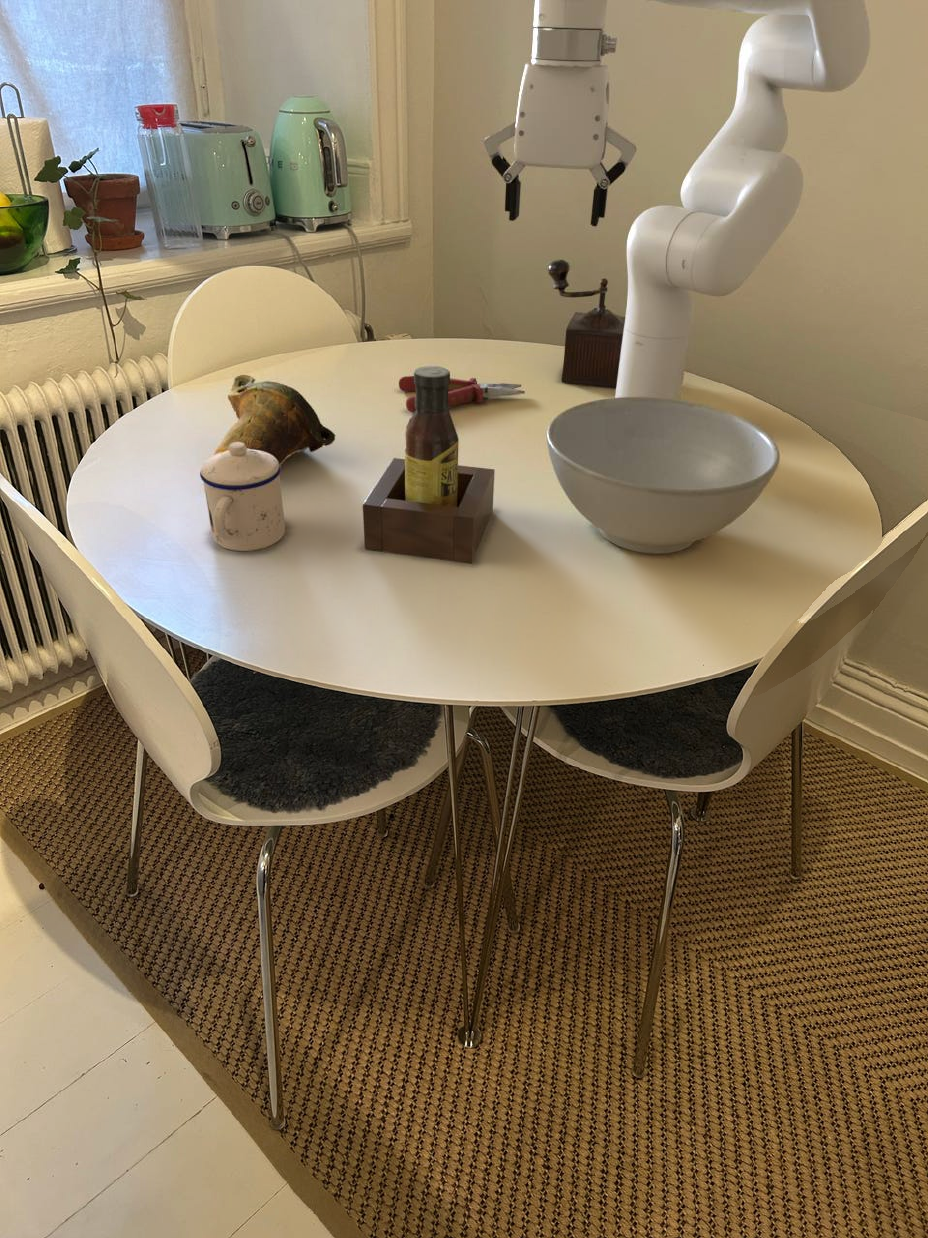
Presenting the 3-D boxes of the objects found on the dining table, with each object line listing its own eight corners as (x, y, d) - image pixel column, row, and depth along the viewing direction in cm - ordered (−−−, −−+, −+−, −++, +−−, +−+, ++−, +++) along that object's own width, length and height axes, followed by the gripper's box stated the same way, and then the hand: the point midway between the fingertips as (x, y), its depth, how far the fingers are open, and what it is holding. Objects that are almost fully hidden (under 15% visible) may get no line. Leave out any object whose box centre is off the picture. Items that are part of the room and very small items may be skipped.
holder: (492, 512, 112) (494, 469, 108) (471, 563, 101) (473, 518, 98) (394, 500, 114) (393, 457, 110) (364, 549, 103) (362, 504, 100)
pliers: (530, 408, 141) (531, 393, 139) (406, 414, 137) (406, 398, 136) (514, 383, 150) (515, 368, 148) (398, 389, 147) (397, 373, 145)
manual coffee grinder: (627, 368, 158) (641, 263, 147) (620, 389, 149) (634, 279, 138) (542, 359, 161) (550, 255, 150) (530, 379, 152) (538, 270, 141)
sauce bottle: (450, 546, 105) (453, 384, 93) (399, 539, 106) (396, 379, 94) (461, 520, 110) (465, 364, 98) (413, 514, 111) (411, 359, 99)
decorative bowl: (772, 506, 115) (794, 419, 108) (736, 610, 95) (760, 511, 88) (577, 466, 124) (586, 383, 117) (507, 553, 103) (512, 459, 96)
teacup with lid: (229, 512, 110) (216, 425, 103) (298, 520, 109) (289, 432, 102) (187, 561, 100) (169, 468, 94) (262, 570, 99) (249, 477, 92)
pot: (160, 420, 111) (240, 339, 120) (169, 476, 120) (242, 397, 130) (278, 482, 109) (349, 395, 119) (277, 533, 119) (343, 449, 128)
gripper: (650, 50, 95) (629, 220, 105) (494, 45, 98) (488, 210, 108) (647, 53, 89) (625, 232, 99) (481, 47, 92) (476, 222, 102)
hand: (554, 221), depth 103 cm, fingers open, 9 cm apart
